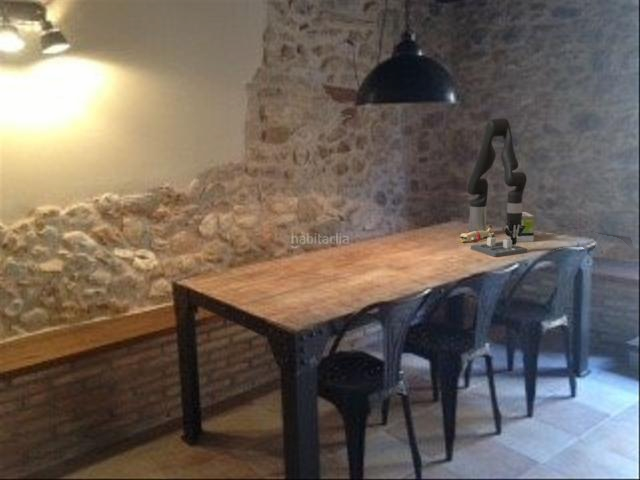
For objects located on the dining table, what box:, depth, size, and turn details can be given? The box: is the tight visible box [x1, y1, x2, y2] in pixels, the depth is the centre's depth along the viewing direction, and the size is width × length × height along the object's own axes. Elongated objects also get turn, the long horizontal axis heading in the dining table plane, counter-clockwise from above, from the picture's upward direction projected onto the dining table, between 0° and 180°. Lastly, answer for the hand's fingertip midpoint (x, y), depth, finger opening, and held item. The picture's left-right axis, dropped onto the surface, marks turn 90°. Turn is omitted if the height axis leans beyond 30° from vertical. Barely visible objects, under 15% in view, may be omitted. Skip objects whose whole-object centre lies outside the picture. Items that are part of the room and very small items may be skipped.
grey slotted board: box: [470, 241, 528, 258], centre depth 302 cm, size 20×20×2 cm
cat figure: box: [459, 223, 496, 243], centre depth 329 cm, size 10×9×25 cm
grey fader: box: [502, 237, 512, 248], centre depth 298 cm, size 3×3×5 cm
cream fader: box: [486, 236, 496, 246], centre depth 304 cm, size 3×3×5 cm
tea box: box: [507, 211, 536, 243], centre depth 325 cm, size 15×10×15 cm, turn 179°
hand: (513, 244), depth 300 cm, fingers closed
